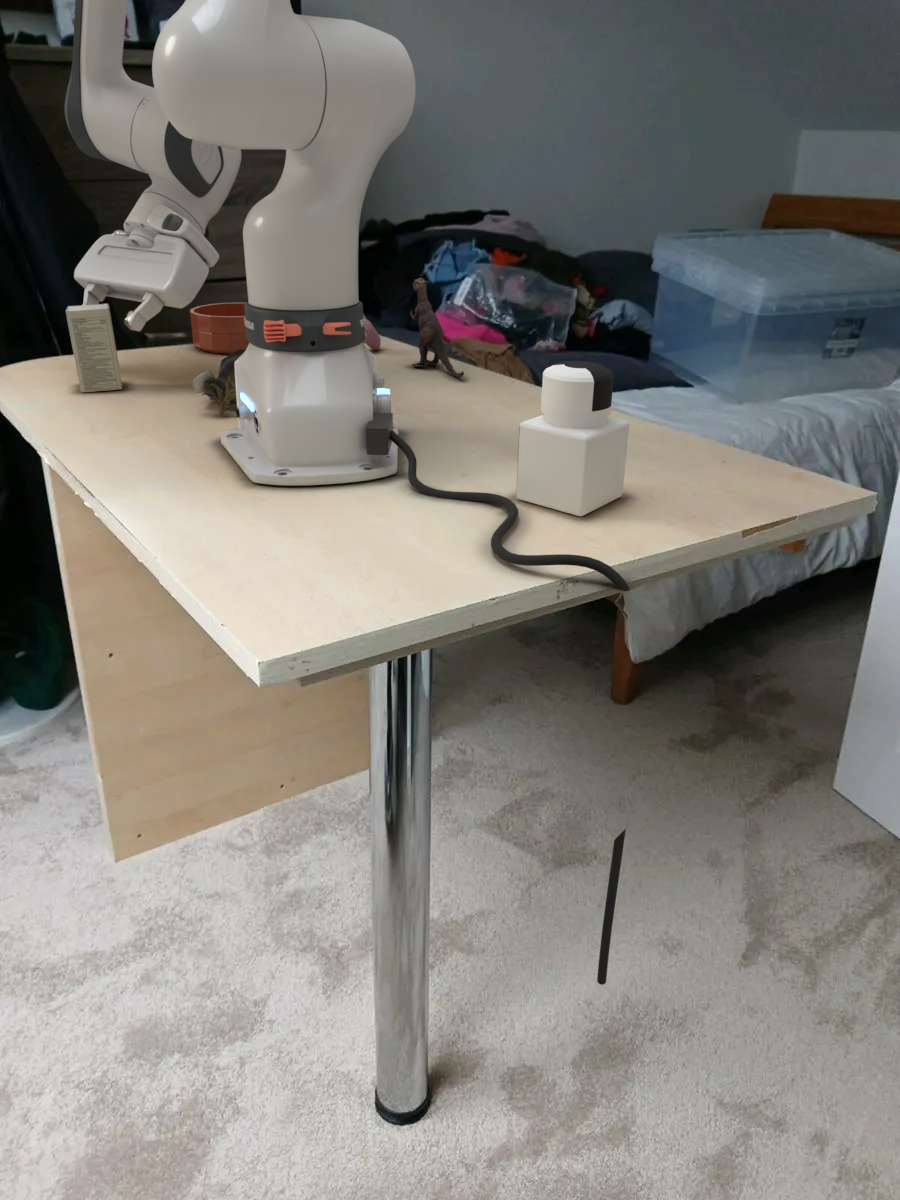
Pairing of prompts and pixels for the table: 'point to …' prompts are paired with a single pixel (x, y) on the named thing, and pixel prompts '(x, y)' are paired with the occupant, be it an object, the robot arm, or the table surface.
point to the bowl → (219, 327)
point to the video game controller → (371, 336)
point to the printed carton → (94, 347)
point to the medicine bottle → (573, 442)
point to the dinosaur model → (430, 331)
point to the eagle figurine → (220, 382)
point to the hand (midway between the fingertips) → (107, 323)
